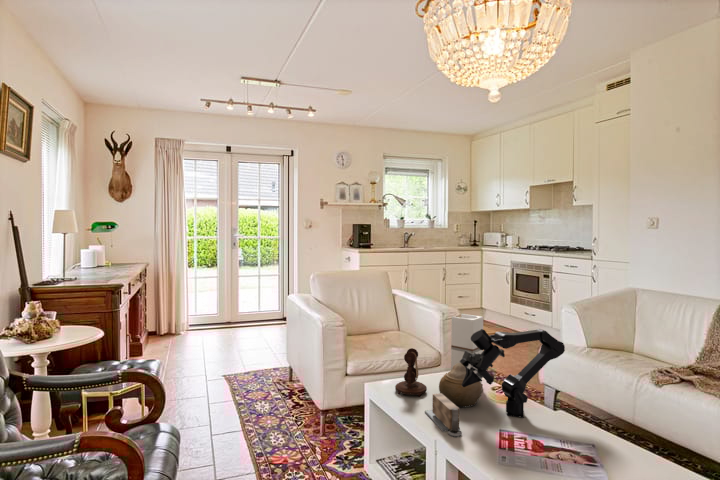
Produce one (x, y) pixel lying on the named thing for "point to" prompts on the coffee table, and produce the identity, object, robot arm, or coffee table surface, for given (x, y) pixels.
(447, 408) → the block
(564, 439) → the coffee table surface
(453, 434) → the hinge base
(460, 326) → the white square post
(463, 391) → the brown round pot
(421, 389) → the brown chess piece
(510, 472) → the coffee table surface
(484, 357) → the robot arm
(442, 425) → the label board
